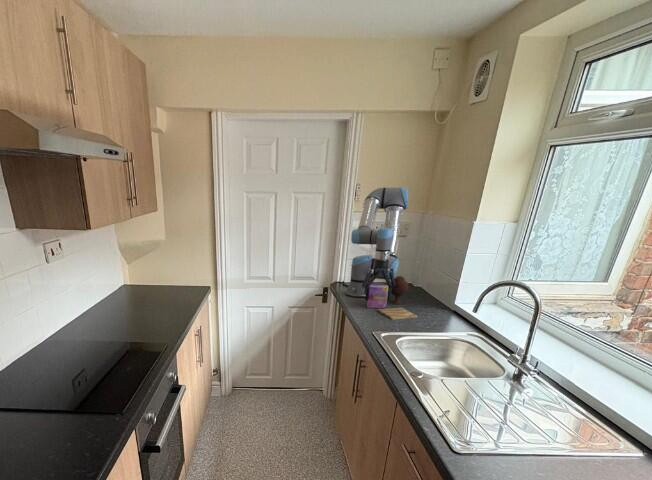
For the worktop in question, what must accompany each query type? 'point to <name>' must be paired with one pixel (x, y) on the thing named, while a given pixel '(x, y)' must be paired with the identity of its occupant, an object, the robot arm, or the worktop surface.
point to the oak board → (397, 313)
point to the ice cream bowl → (399, 288)
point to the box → (377, 296)
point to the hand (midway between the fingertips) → (377, 299)
